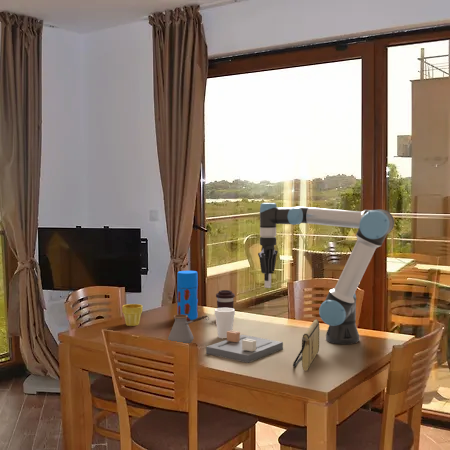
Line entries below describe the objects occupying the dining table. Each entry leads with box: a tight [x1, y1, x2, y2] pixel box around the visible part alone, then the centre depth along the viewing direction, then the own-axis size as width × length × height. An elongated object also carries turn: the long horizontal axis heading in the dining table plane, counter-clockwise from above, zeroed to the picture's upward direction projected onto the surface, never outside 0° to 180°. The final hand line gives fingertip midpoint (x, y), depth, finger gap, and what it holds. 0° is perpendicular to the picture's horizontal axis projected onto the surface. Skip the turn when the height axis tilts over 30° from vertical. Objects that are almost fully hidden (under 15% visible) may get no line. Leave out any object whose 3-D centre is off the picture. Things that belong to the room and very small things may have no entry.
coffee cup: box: [215, 289, 236, 309], centre depth 328 cm, size 10×10×15 cm
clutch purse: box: [292, 318, 320, 372], centre depth 250 cm, size 30×7×15 cm, turn 163°
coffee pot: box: [167, 314, 210, 344], centre depth 274 cm, size 21×12×15 cm, turn 54°
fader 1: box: [226, 330, 241, 342], centre depth 270 cm, size 5×3×4 cm, turn 52°
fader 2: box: [242, 339, 256, 351], centre depth 256 cm, size 5×3×4 cm, turn 52°
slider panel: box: [205, 334, 284, 364], centre depth 266 cm, size 22×26×3 cm
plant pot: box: [121, 303, 144, 327], centre depth 315 cm, size 10×10×10 cm
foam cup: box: [214, 307, 236, 339], centre depth 290 cm, size 10×9×13 cm
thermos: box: [176, 270, 199, 321], centre depth 329 cm, size 11×11×25 cm
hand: (267, 287), depth 283 cm, fingers closed
